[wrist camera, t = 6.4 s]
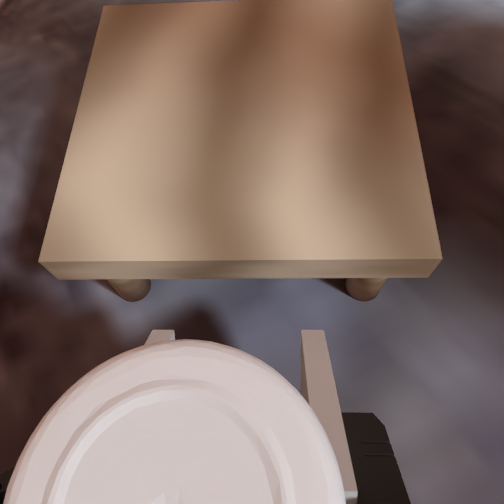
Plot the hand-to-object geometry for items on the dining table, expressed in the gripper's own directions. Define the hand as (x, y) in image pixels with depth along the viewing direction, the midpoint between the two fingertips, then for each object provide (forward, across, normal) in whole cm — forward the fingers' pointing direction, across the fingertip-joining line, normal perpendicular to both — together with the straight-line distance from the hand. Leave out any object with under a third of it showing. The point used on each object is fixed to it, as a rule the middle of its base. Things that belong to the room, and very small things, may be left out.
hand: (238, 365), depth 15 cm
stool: (+10, 0, +4) cm, 11 cm away
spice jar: (0, 0, -6) cm, 6 cm away
